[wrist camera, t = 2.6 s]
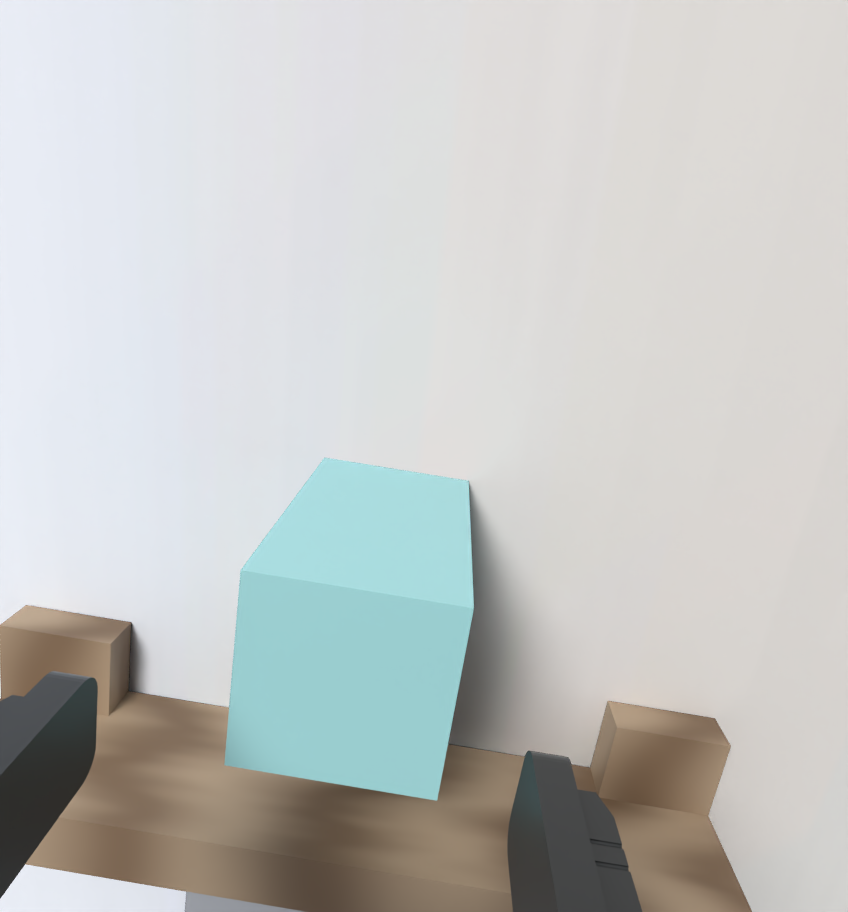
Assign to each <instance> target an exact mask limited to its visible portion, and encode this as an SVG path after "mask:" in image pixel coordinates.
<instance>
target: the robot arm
mask: <svg viewBox="0 0 848 912" xmlns="http://www.w3.org/2000/svg"><path fill="white" fill-rule="evenodd" d="M97 697H98V685H97V681H96V679H95V678H93V677H87V676H81V675H75V674H69V673H63V672H57V671H52V672H49V673H48V674H47V675H45V676H44V677H43V678H42V679H41V680H40V681H39V682H38V683H37V684H36V685H35V686H34V687H33V688H32V689H31V690H30V691H29V692H28V693H27V694H26V695H25V696H24V697H22V696H16V695H11V696H9V697H7V698H5V699H4V700H2V701H0V898H1V897H2V895H3V894H4V893H5V891H6V890H7V889H8V887H9V886H10V884H11V883H12V882H13V880H14V879H15V877H16V876H17V875H18V873H19V872H20V871H21V869H22V868H23V866H24V865H25V864H26V862H27V861H28V859H29V858H30V857H31V855H32V854H33V852H34V851H35V850H36V848H37V847H38V846H39V844H40V843H41V841H42V840H43V839H44V837H45V836H46V834H47V833H48V832H49V830H50V829H51V828H52V826H53V825H54V823H55V822H56V821H57V819H58V818H59V816H60V815H61V814H62V812H63V811H64V810H65V808H66V807H67V805H68V804H69V803H70V801H71V800H72V798H73V797H74V796H75V794H76V793H77V792H78V790H79V789H80V787H81V786H82V784H83V783H84V781H85V779H86V777H87V775H88V773H89V771H90V768H91V766H92V763H93V759H94V755H95V750H96V728H97ZM507 855H508V866H509V876H510V887H511V897H512V907H513V912H642V909H641V905H640V902H639V899H638V895H637V892H636V889H635V885H634V882H633V879H632V875H631V872H629V870H628V868H629V865H628V862H627V859H626V855H625V852H624V849H622V842H621V839H620V835H619V832H618V829H617V825H616V822H615V819H614V816H613V815H612V814H611V812H610V811H609V810H608V808H607V807H606V806H605V804H604V803H603V801H602V800H601V799H600V797H599V796H598V795H597V793H596V792H591V791H585V790H578V789H577V785H576V781H575V777H574V773H573V769H572V765H571V762H570V759H569V758H568V757H564V756H558V755H552V754H546V753H540V752H534V751H528V752H527V753H526V755H525V758H524V762H523V766H522V770H521V774H520V778H519V782H518V787H517V791H516V795H515V799H514V803H513V807H512V811H511V816H510V821H509V828H508V840H507Z"/></svg>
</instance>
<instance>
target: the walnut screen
mask: <svg viewBox="0 0 848 912" xmlns="http://www.w3.org/2000/svg"><path fill="white" fill-rule="evenodd" d="M130 639H131V622H126V621H119V620H113V619H107V618H101V617H95V616H89V615H83V614H77V613H71V612H65V611H59V610H53V609H47V608H40V607H34V606H28V605H26V606H24V607H23V608H22V609H20V610H19V611H18V612H17V613H15V614H14V615H13V616H11V617H10V618H9V619H7V620H6V621H5V622H3V623H2V624H1V625H0V674H1V699H0V701H2V700H4V699H5V698H7V697H9V696H11V695H16V696H22V697H24V696H25V695H26V694H27V693H28V692H29V691H30V690H31V689H32V688H33V687H34V686H35V685H36V684H37V683H38V682H39V681H40V680H41V679H42V678H43V677H44V676H45V675H47V674H48V673H49V672H52V671H57V672H63V673H69V674H75V675H81V676H87V677H93V678H95V679H96V681H97V685H98V697H97V728H96V750H95V755H94V759H93V763H92V766H91V768H90V771H89V773H88V775H87V777H86V779H85V781H84V783H83V784H82V786H81V787H80V789H79V790H78V792H77V793H76V794H75V796H74V797H73V798H72V800H71V801H70V803H69V804H68V805H67V807H66V808H65V810H64V811H63V812H62V814H61V815H60V816H59V818H58V819H57V821H56V822H55V823H54V825H53V826H52V828H51V829H50V830H49V832H48V833H47V834H46V836H45V837H44V839H43V840H42V841H41V843H40V844H39V846H38V847H37V848H36V850H35V851H34V852H33V854H32V855H31V857H30V858H29V859H28V861H27V862H26V864H27V865H33V866H39V867H45V868H51V869H57V870H62V871H68V872H74V873H80V874H86V875H92V876H98V877H104V878H110V879H116V880H121V881H127V882H133V883H139V884H145V885H151V886H157V887H163V888H169V889H175V890H181V891H186V892H192V893H198V894H204V895H210V896H216V897H222V898H228V899H234V900H240V901H246V902H251V903H257V904H263V905H269V906H275V907H281V908H287V909H293V910H299V911H305V912H513V907H512V897H511V887H510V876H509V866H508V855H507V840H508V828H509V821H510V816H511V811H512V807H513V803H514V799H515V795H516V791H517V787H518V782H519V778H520V774H521V770H522V766H523V762H524V758H525V757H523V756H517V755H511V754H505V753H499V752H492V751H486V750H480V749H474V748H468V747H462V746H456V745H450V744H448V746H447V752H446V757H445V762H444V767H443V773H442V778H441V783H440V788H439V793H438V799H437V801H436V800H430V799H424V798H418V797H412V796H406V795H400V794H394V793H388V792H382V791H376V790H370V789H364V788H358V787H352V786H346V785H340V784H334V783H328V782H322V781H316V780H310V779H304V778H298V777H292V776H286V775H280V774H274V773H268V772H262V771H256V770H250V769H244V768H238V767H232V766H226V765H224V763H225V751H226V739H227V728H228V716H229V708H227V707H221V706H215V705H209V704H203V703H197V702H191V701H185V700H179V699H173V698H167V697H161V696H155V695H149V694H143V693H137V692H131V691H129V667H130ZM730 747H731V746H730V744H729V742H728V740H727V739H726V737H725V735H724V734H723V732H722V730H721V728H720V727H719V725H718V723H717V721H716V720H715V718H709V717H703V716H697V715H691V714H684V713H678V712H672V711H666V710H660V709H654V708H648V707H642V706H636V705H630V704H624V703H618V702H612V701H608V702H607V706H606V710H605V714H604V717H603V721H602V725H601V729H600V733H599V736H598V740H597V744H596V748H595V752H594V755H593V759H592V763H591V767H590V768H589V767H583V766H577V765H572V769H573V773H574V777H575V781H576V785H577V789H578V790H585V791H591V792H596V793H597V795H598V796H599V797H600V799H601V800H602V801H603V803H604V804H605V806H606V807H607V808H608V810H609V811H610V812H611V814H612V815H613V816H614V819H615V822H616V825H617V829H618V832H619V835H620V839H621V842H622V849H624V852H625V855H626V859H627V862H628V865H629V868H628V870H629V872H631V875H632V879H633V882H634V885H635V889H636V892H637V895H638V899H639V902H640V905H641V909H642V912H752V911H751V908H750V906H749V904H748V902H747V900H746V897H745V895H744V893H743V891H742V889H741V887H740V884H739V882H738V880H737V878H736V876H735V873H734V871H733V869H732V867H731V865H730V863H729V860H728V858H727V856H726V854H725V852H724V849H723V847H722V845H721V843H720V841H719V839H718V836H717V834H716V832H715V830H714V828H713V825H712V823H711V821H710V819H709V817H708V814H709V811H710V808H711V805H712V802H713V799H714V796H715V793H716V790H717V787H718V784H719V781H720V778H721V775H722V772H723V769H724V766H725V763H726V759H727V756H728V753H729V750H730Z"/></svg>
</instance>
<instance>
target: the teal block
mask: <svg viewBox="0 0 848 912" xmlns="http://www.w3.org/2000/svg"><path fill="white" fill-rule="evenodd" d="M473 611H474V597H473V573H472V549H471V525H470V501H469V481H466V480H460V479H454V478H448V477H442V476H435V475H429V474H423V473H417V472H411V471H404V470H398V469H392V468H386V467H380V466H373V465H367V464H361V463H355V462H349V461H342V460H336V459H330V458H324V459H323V460H322V462H321V463H320V465H319V466H318V467H317V469H316V470H315V471H314V473H313V474H312V475H311V477H310V478H309V479H308V481H307V482H306V483H305V485H304V486H303V487H302V489H301V490H300V491H299V493H298V494H297V495H296V497H295V498H294V499H293V501H292V502H291V503H290V505H289V506H288V507H287V509H286V510H285V511H284V513H283V514H282V515H281V517H280V518H279V519H278V521H277V522H276V524H275V525H274V526H273V528H272V529H271V530H270V532H269V533H268V534H267V536H266V537H265V538H264V540H263V541H262V542H261V544H260V545H259V546H258V548H257V549H256V550H255V552H254V553H253V554H252V556H251V557H250V558H249V560H248V561H247V562H246V564H245V565H244V566H243V568H242V569H241V573H240V585H239V597H238V608H237V620H236V632H235V644H234V656H233V668H232V680H231V692H230V704H229V716H228V728H227V739H226V751H225V763H224V765H226V766H232V767H238V768H244V769H250V770H256V771H262V772H268V773H274V774H280V775H286V776H292V777H298V778H304V779H310V780H316V781H322V782H328V783H334V784H340V785H346V786H352V787H358V788H364V789H370V790H376V791H382V792H388V793H394V794H400V795H406V796H412V797H418V798H424V799H430V800H436V801H437V799H438V793H439V788H440V783H441V778H442V773H443V767H444V762H445V757H446V752H447V746H448V741H449V736H450V731H451V726H452V720H453V715H454V710H455V705H456V699H457V694H458V689H459V684H460V679H461V673H462V668H463V663H464V658H465V652H466V647H467V642H468V637H469V632H470V626H471V621H472V616H473Z"/></svg>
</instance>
